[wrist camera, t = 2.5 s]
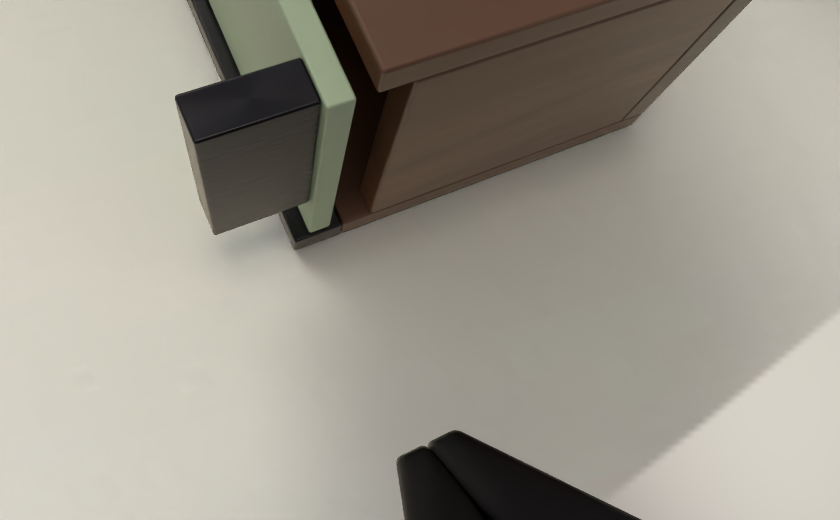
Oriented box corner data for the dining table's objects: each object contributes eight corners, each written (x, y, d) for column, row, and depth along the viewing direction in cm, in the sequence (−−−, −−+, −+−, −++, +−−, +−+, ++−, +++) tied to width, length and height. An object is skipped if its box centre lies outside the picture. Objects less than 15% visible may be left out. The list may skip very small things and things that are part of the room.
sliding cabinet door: (330, 225, 21) (358, 99, 14) (222, 266, 20) (196, 151, 14) (218, -27, 23) (196, -250, 16) (114, 1, 22) (43, -222, 15)
